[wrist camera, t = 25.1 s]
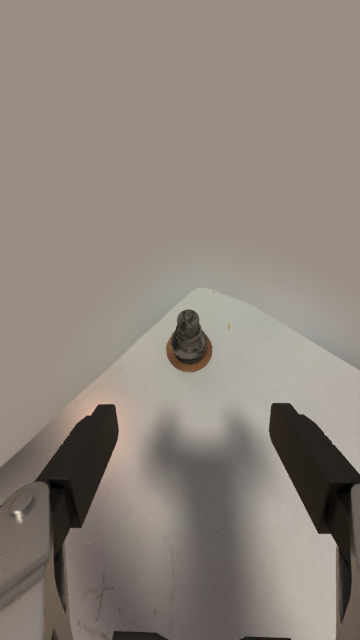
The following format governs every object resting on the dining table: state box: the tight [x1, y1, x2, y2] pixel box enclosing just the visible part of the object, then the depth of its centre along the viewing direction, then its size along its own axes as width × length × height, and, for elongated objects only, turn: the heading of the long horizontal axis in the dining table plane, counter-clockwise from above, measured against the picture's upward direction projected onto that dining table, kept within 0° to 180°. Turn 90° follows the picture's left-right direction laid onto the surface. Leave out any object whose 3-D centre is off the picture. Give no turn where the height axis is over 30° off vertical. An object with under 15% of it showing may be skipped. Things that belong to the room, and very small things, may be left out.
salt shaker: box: [170, 310, 207, 364], centre depth 27 cm, size 6×6×12 cm
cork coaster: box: [166, 336, 212, 372], centre depth 32 cm, size 8×8×1 cm
